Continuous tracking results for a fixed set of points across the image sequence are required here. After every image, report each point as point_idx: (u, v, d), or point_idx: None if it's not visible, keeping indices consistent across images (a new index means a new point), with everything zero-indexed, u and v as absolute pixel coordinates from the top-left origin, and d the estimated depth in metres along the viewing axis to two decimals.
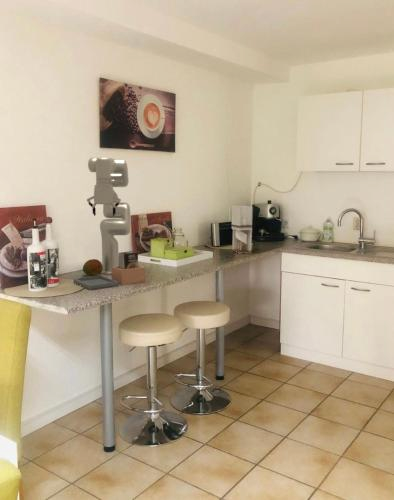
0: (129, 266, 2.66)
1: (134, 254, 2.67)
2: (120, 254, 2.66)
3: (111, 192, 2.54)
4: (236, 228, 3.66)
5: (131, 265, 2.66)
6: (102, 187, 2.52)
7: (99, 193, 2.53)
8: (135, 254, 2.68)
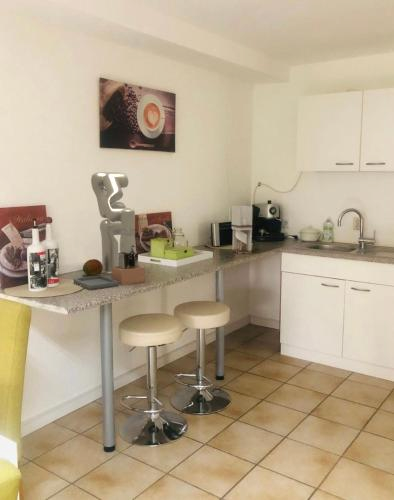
0: (129, 266, 2.66)
1: None
2: (120, 254, 2.66)
3: None
4: (236, 228, 3.66)
5: None
6: None
7: None
8: None
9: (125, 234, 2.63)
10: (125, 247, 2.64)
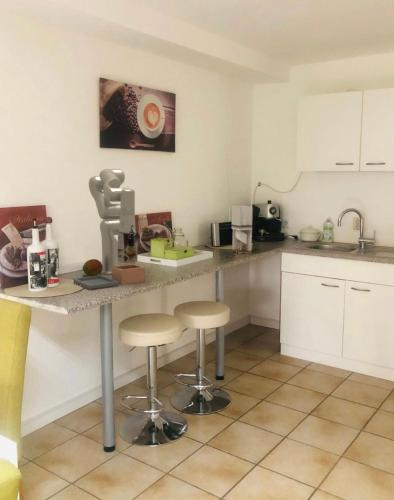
0: (129, 246, 2.65)
1: None
2: (119, 234, 2.64)
3: None
4: (236, 228, 3.66)
5: None
6: None
7: None
8: None
9: (125, 214, 2.61)
10: (125, 227, 2.63)
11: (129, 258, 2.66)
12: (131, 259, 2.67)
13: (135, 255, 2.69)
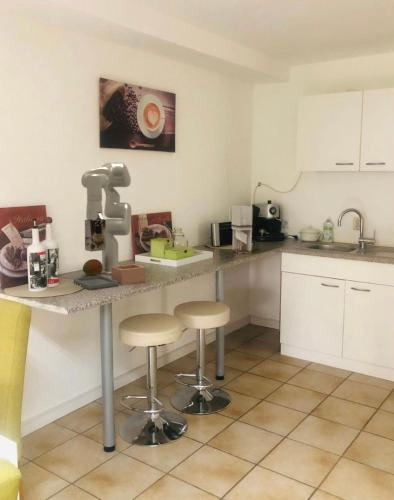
0: (96, 234, 2.54)
1: None
2: (86, 221, 2.54)
3: None
4: (236, 228, 3.66)
5: None
6: None
7: None
8: None
9: (91, 200, 2.51)
10: (91, 214, 2.53)
11: (96, 246, 2.56)
12: (99, 247, 2.57)
13: (103, 243, 2.58)
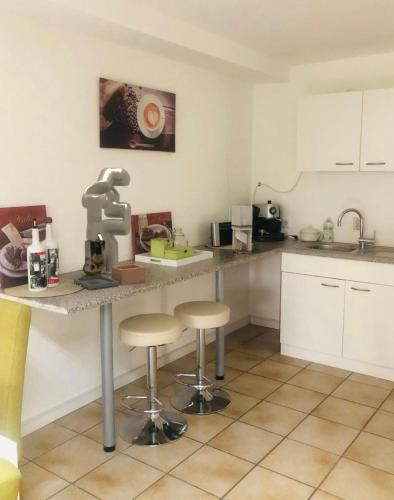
0: (96, 255, 2.56)
1: None
2: (86, 242, 2.56)
3: None
4: (236, 228, 3.66)
5: None
6: None
7: None
8: (102, 242, 2.58)
9: (91, 221, 2.53)
10: (91, 235, 2.54)
11: (96, 267, 2.57)
12: (99, 268, 2.58)
13: (103, 264, 2.60)
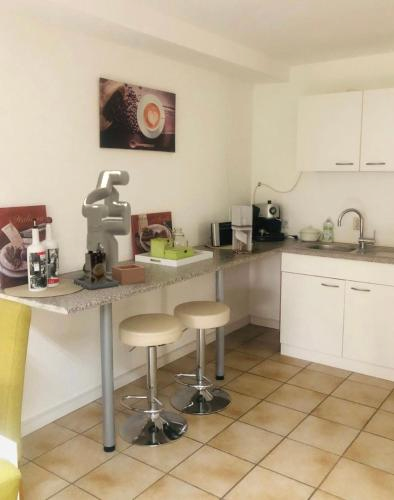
0: (96, 267, 2.57)
1: None
2: (87, 255, 2.57)
3: None
4: (236, 228, 3.66)
5: (98, 266, 2.58)
6: None
7: None
8: None
9: (91, 231, 2.54)
10: (91, 244, 2.55)
11: (97, 280, 2.58)
12: (99, 281, 2.59)
13: (103, 276, 2.61)
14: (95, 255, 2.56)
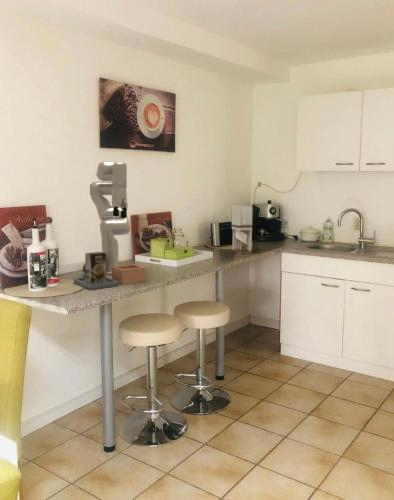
0: (96, 267, 2.57)
1: (101, 255, 2.59)
2: (87, 255, 2.57)
3: None
4: (236, 228, 3.66)
5: (98, 266, 2.58)
6: None
7: None
8: (102, 255, 2.59)
9: (116, 187, 2.64)
10: (116, 200, 2.65)
11: (97, 280, 2.58)
12: (99, 281, 2.59)
13: (103, 276, 2.61)
14: (95, 255, 2.56)
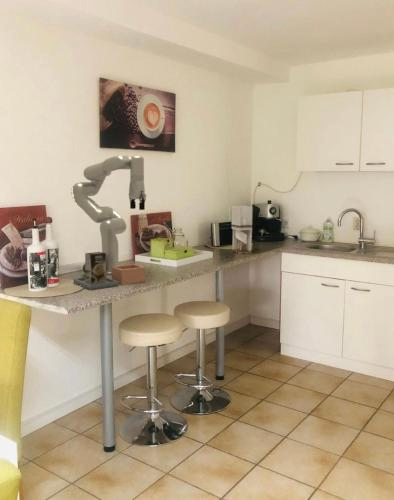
0: (96, 267, 2.57)
1: (101, 255, 2.59)
2: (87, 255, 2.57)
3: None
4: (236, 228, 3.66)
5: (98, 266, 2.58)
6: None
7: None
8: (102, 255, 2.59)
9: (134, 179, 2.73)
10: (134, 192, 2.75)
11: (97, 280, 2.58)
12: (99, 281, 2.59)
13: (103, 276, 2.61)
14: (95, 255, 2.56)
